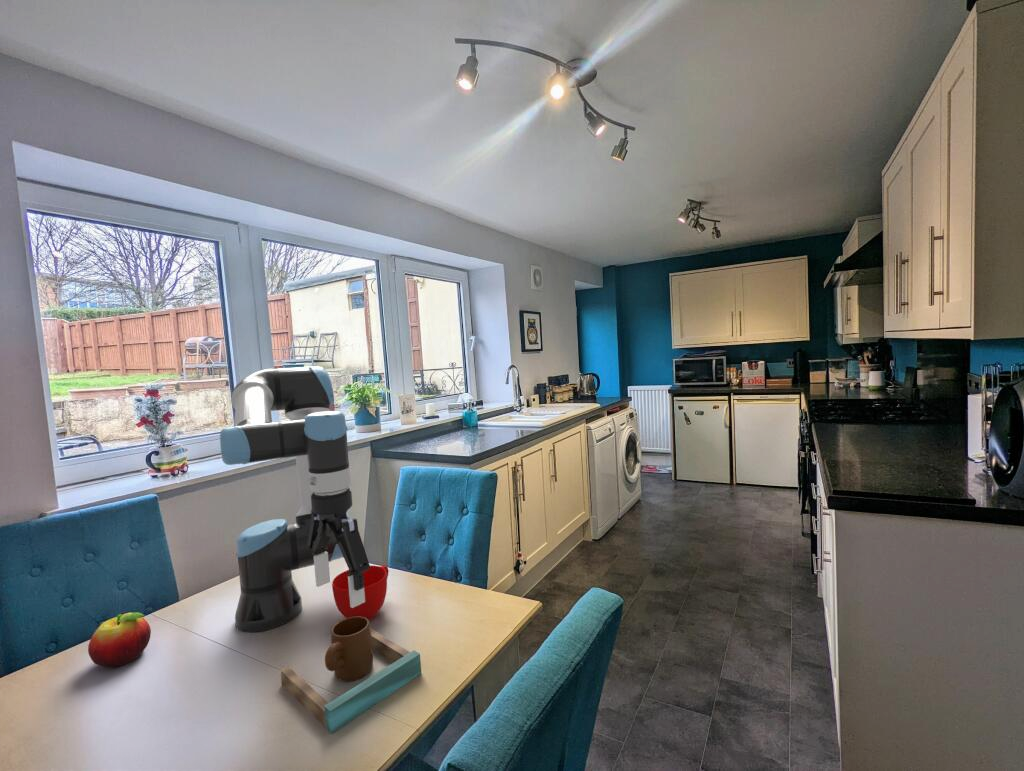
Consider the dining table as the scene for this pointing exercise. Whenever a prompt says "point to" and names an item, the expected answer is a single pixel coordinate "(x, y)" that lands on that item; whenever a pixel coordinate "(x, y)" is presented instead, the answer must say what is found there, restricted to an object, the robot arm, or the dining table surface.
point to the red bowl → (372, 588)
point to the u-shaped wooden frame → (362, 694)
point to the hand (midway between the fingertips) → (339, 593)
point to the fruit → (119, 640)
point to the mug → (350, 649)
